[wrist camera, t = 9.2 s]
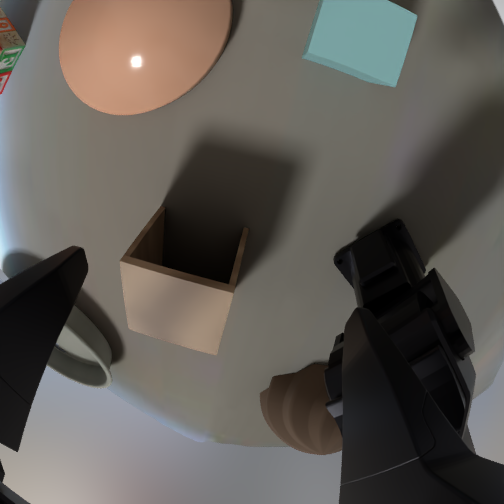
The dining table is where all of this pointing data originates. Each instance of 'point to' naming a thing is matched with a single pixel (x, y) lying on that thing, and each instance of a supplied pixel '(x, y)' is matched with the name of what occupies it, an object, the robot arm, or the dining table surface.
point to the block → (361, 38)
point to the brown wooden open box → (174, 294)
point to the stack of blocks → (8, 48)
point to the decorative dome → (302, 411)
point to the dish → (140, 50)
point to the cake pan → (82, 352)
